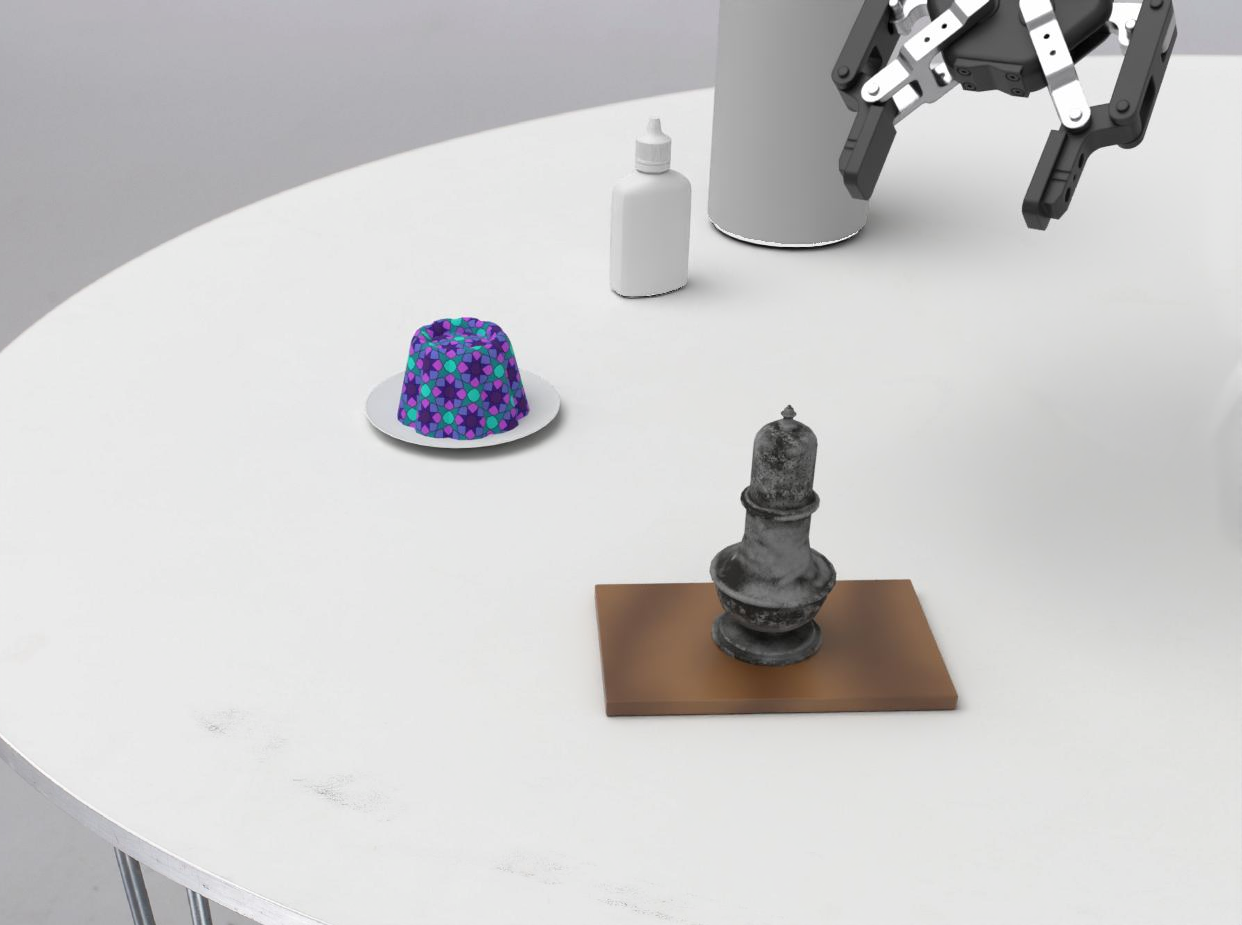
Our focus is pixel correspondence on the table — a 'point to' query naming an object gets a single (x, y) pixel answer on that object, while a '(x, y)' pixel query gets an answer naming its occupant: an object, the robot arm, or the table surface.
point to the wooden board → (717, 683)
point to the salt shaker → (774, 555)
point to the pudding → (461, 390)
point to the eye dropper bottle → (650, 221)
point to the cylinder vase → (781, 122)
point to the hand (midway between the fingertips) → (941, 206)
